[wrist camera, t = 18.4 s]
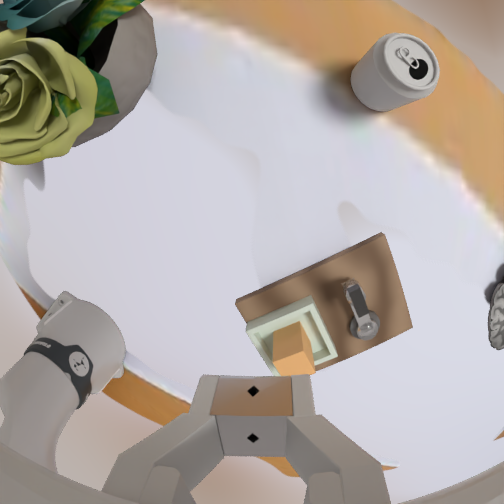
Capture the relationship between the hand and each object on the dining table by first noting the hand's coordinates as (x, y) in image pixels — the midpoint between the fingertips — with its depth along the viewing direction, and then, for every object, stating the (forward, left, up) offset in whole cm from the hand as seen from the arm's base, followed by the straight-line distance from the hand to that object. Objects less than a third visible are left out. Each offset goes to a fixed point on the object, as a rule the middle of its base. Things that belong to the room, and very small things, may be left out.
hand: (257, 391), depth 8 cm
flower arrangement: (-11, +28, -31) cm, 43 cm away
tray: (-5, -17, -29) cm, 34 cm away
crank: (+5, -16, -28) cm, 33 cm away
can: (+20, +9, -31) cm, 38 cm away
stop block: (-5, -17, -29) cm, 34 cm away
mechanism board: (+1, -17, -31) cm, 35 cm away
